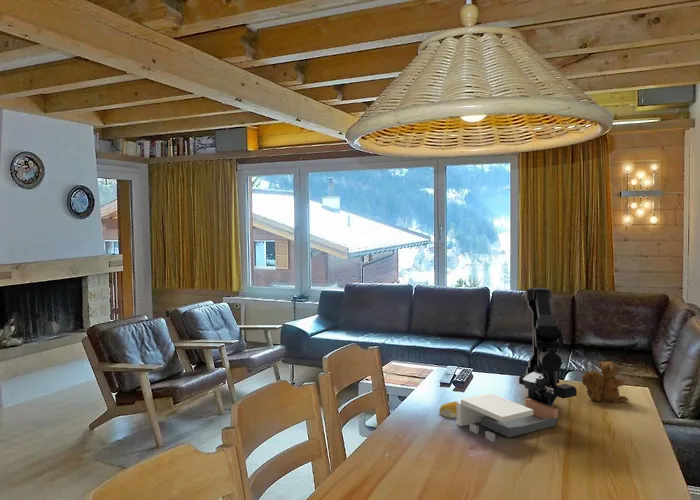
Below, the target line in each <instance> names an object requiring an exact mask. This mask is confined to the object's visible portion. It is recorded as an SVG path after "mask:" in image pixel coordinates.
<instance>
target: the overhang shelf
mask: <svg viewBox="0 0 700 500" xmlns="http://www.w3.org/2000/svg"><path fill="white" fill-rule="evenodd" d="M456 402H457V418H456V425H458V426H460V427H463V426H468V425H469V431H470V432H472V433H474V434H476V435H477V434H479V433H480V427H479V425H477V424H478V423H481V417H483V416H489V417H491V418H494V419H496V420H498V421H500V422H506V421H510V420H514V419H518V418H522V417H526V416H531V415H533V409H530V408H527V407H525V405H522V404H519V403H517V402H514V401H512V400H509V399H506V398H504V397H502V396H499V395H497V394H493V393H492V392H491V393H486V394H481V395H475V396H471V397H466V398H461V399H460V401H456ZM476 423H477V424H476ZM485 439H486V440H488V441H491V442H493V443H494V442H495V441H496V434H495V433H494V432H491V431H490V430H487V431H485Z"/></svg>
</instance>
